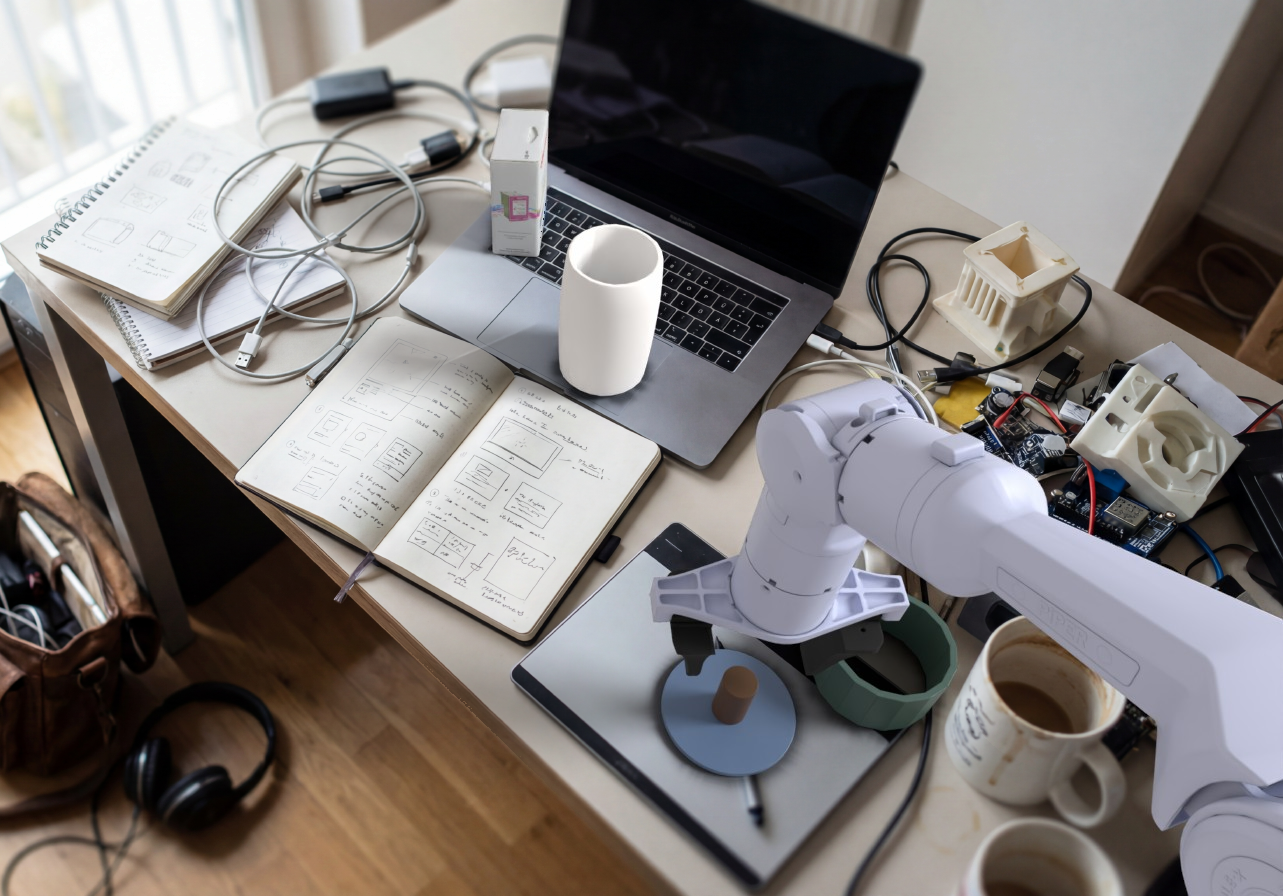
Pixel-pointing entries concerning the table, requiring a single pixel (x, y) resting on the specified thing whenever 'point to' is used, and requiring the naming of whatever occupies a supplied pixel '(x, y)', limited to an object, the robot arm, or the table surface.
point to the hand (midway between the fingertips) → (748, 661)
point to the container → (890, 709)
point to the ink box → (519, 181)
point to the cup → (608, 308)
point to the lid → (729, 714)
